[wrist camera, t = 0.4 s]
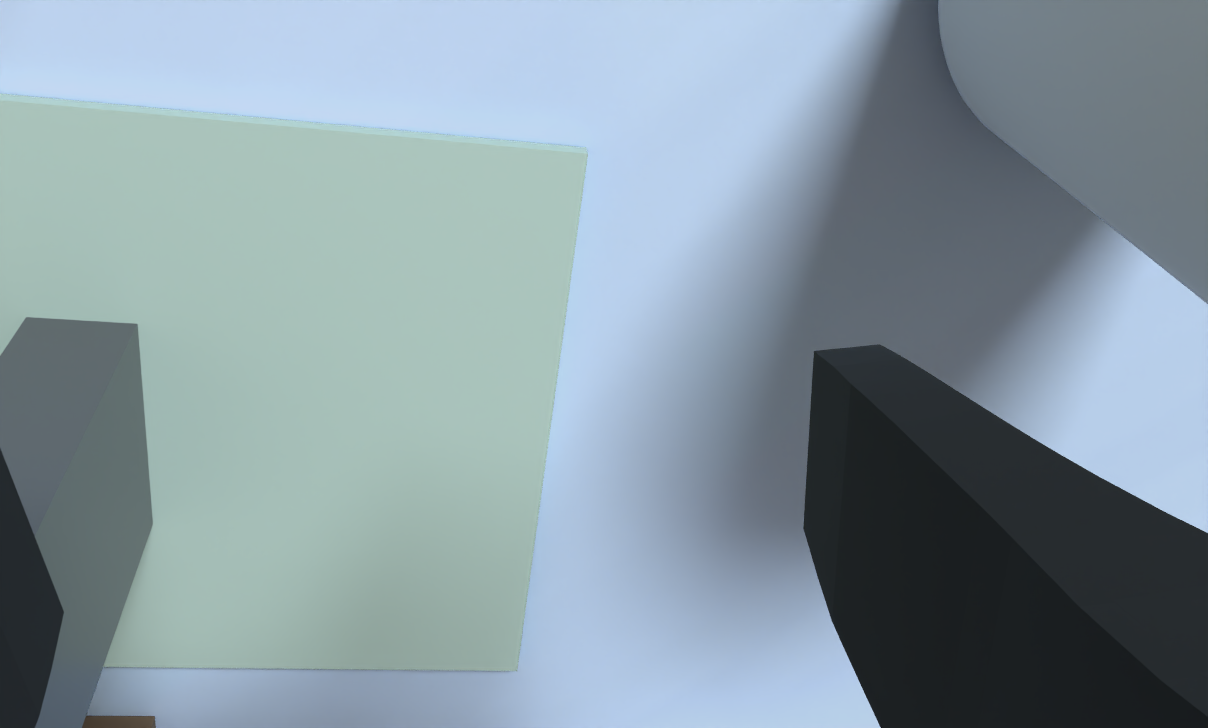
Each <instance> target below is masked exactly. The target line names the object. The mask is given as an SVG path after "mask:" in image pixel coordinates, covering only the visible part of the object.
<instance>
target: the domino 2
mask: <svg viewBox="0 0 1208 728" xmlns="http://www.w3.org/2000/svg"><path fill="white" fill-rule="evenodd" d="M82 728H156V725H155V716H86V717H85V720H84V723H83V726H82Z"/></svg>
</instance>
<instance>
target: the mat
mask: <svg viewBox="0 0 1208 728" xmlns="http://www.w3.org/2000/svg"><path fill="white" fill-rule="evenodd" d="M587 157H588V152H587V149H586V148H585V147H574V146H563V145H552V144H542V143H531V142H520V141H509V140H498V139H487V138H476V137H465V136H455V135H444V134H433V133H422V132H411V131H400V130H389V129H379V128H368V127H357V126H346V125H335V124H324V123H313V122H303V121H292V120H281V119H270V118H259V117H248V116H237V115H227V114H216V113H205V112H194V111H183V110H172V109H161V108H150V107H140V106H129V105H118V104H107V103H96V102H85V101H74V100H64V99H53V98H42V97H31V96H20V95H9V94H0V355H1V354H2V352H3V351H4V349H5V348H6V346H7V345H8V343H9V342H10V340H11V339H12V337H13V336H14V334H15V333H16V331H17V330H18V328H19V327H20V325H21V324H22V322H23V321H24V319H25V318H26V317H34V318H50V319H67V320H83V321H100V322H117V323H133V324H138V335H139V348H140V361H141V374H142V387H143V400H144V413H145V426H146V439H147V452H148V466H149V479H150V492H151V505H152V518H153V526H152V528H151V531H150V534H149V537H148V540H147V543H146V546H145V548H144V551H143V554H142V557H141V560H140V563H139V566H138V568H137V571H136V574H135V577H134V580H133V583H132V586H131V588H130V591H129V594H128V597H127V600H126V603H125V606H124V608H123V611H122V614H121V617H120V620H119V623H118V626H117V629H116V631H115V634H114V637H113V640H112V643H111V646H110V649H109V651H108V654H107V657H106V660H105V663H104V666H103V667H159V668H259V669H360V670H460V671H517V668H518V660H519V653H520V646H521V638H522V631H523V624H524V617H525V609H526V602H527V595H528V587H529V580H530V573H531V565H532V558H533V551H534V544H535V536H536V529H537V522H538V514H539V507H540V500H541V493H542V485H543V478H544V471H545V463H546V456H547V449H548V441H549V434H550V427H551V420H552V412H553V405H554V398H555V390H556V383H557V376H558V369H559V361H560V354H561V347H562V339H563V332H564V325H565V317H566V310H567V303H568V296H569V288H570V281H571V274H572V266H573V259H574V252H575V245H576V237H577V230H578V223H579V215H580V208H581V201H582V193H583V186H584V179H585V172H586V164H587Z"/></svg>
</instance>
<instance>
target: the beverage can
mask: <svg viewBox="0 0 1208 728" xmlns="http://www.w3.org/2000/svg"><path fill="white" fill-rule="evenodd" d="M938 15H939V28H940V37H941V43H942V48H943V52H944V55H945V59H946V62H947V66H948V69H949V72H950V74H951V77H952V79H953V82H954V84H955V85H956V87H957V89H958V91H959V93H960V95H961V97H962V98H963V100H964V102H965V103H966V104H967V106H968V107H969V109H970V110H971V111H972V112H973V113H974V115H975V116H976V117H977V118H978V119H979V121H980V122H981V123H982V124H983V125H984V126H985V127H986V128H988V129H989V130H990V131H991V132H992V133H994V134H995V135H996V136H997V137H999V138H1000V139H1001V140H1002V141H1004V142H1005V143H1006V144H1007V145H1009V146H1010V147H1011V148H1012V149H1014V150H1015V151H1016V152H1017V153H1019V154H1020V155H1021V156H1023V157H1024V158H1025V159H1026V160H1028V161H1029V162H1030V163H1031V164H1033V165H1034V166H1035V167H1036V168H1038V169H1039V170H1040V171H1041V172H1043V173H1044V174H1045V175H1046V176H1048V177H1049V178H1050V179H1051V180H1053V181H1054V182H1055V183H1056V184H1058V185H1059V186H1060V187H1061V188H1063V189H1064V190H1065V191H1066V192H1068V193H1069V194H1070V195H1072V196H1073V197H1074V198H1075V199H1077V200H1078V201H1079V202H1080V203H1082V204H1083V205H1084V206H1085V207H1087V208H1088V209H1089V210H1090V211H1092V212H1093V213H1094V214H1095V215H1097V216H1098V217H1099V218H1100V219H1102V220H1103V221H1104V222H1105V223H1107V224H1108V225H1109V226H1110V227H1112V228H1113V229H1114V230H1115V231H1117V232H1118V233H1119V234H1121V235H1122V236H1123V237H1124V238H1126V239H1127V240H1128V241H1129V242H1131V243H1132V244H1133V245H1134V246H1136V247H1137V248H1138V249H1139V250H1141V251H1142V252H1143V253H1144V254H1146V255H1147V256H1148V257H1149V258H1151V259H1152V260H1153V261H1154V262H1156V263H1157V264H1158V265H1159V266H1161V267H1162V268H1163V269H1164V270H1166V271H1167V272H1168V273H1170V274H1171V275H1172V276H1173V277H1175V278H1176V279H1177V280H1178V281H1180V282H1181V283H1182V284H1183V285H1185V286H1186V287H1187V288H1188V289H1190V290H1191V291H1192V292H1193V293H1195V294H1196V295H1197V296H1198V297H1200V298H1201V299H1202V300H1203V301H1205V302H1206V303H1207V304H1208V0H939V2H938Z"/></svg>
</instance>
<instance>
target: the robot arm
mask: <svg viewBox="0 0 1208 728" xmlns="http://www.w3.org/2000/svg"><path fill="white" fill-rule="evenodd" d="M804 532H805V535H806V538H807V542H808V545H809V548H810V552H811V555H812V559H813V562H814V565H815V569H816V572H817V576H818V579H819V582H820V585H821V588H822V591H823V594H824V598H825V601H826V604H827V607H828V610H829V613H830V616H831V619H832V622H833V624H834V626H835V629H836V631H837V633H838V636H839V638H840V640H841V642H842V645H843V647H844V649H845V651H846V653H847V655H848V658H849V660H850V662H851V664H852V666H853V669H854V671H855V673H856V675H857V677H858V680H859V682H860V684H861V686H862V688H863V690H864V693H865V695H866V697H867V699H868V701H869V703H870V706H871V708H872V710H873V712H874V714H875V716H876V718H877V721H878V723H879V725H880V727H881V728H1208V533H1206V532H1204V531H1202V530H1200V529H1198V528H1196V527H1194V526H1192V525H1190V524H1188V523H1186V522H1184V521H1182V520H1180V519H1178V518H1176V517H1174V516H1172V515H1170V514H1168V513H1166V512H1164V511H1162V510H1160V509H1158V508H1156V507H1154V506H1153V505H1151V504H1149V503H1147V502H1145V501H1143V500H1141V499H1139V498H1138V497H1136V496H1134V495H1132V494H1130V493H1128V492H1126V491H1125V490H1123V489H1121V488H1119V487H1117V486H1115V485H1113V484H1111V483H1110V482H1108V481H1106V480H1104V479H1102V478H1100V477H1098V476H1097V475H1095V474H1093V473H1091V472H1090V471H1088V470H1086V469H1084V468H1083V467H1081V466H1079V465H1077V464H1076V463H1074V462H1072V461H1070V460H1069V459H1067V458H1065V457H1063V456H1062V455H1060V454H1058V453H1057V452H1055V451H1053V450H1052V449H1050V448H1048V447H1046V446H1045V445H1043V444H1041V443H1040V442H1038V441H1036V440H1035V439H1033V438H1031V437H1030V436H1028V435H1027V434H1025V433H1023V432H1022V431H1020V430H1018V429H1017V428H1015V427H1013V426H1012V425H1010V424H1009V423H1007V422H1005V421H1004V420H1002V419H1001V418H999V417H997V416H996V415H994V414H992V413H991V412H989V411H988V410H986V409H984V408H983V407H981V406H980V405H978V404H977V403H975V402H973V401H972V400H970V399H969V398H967V397H966V396H964V395H962V394H961V393H959V392H958V391H956V390H954V389H953V388H951V387H950V386H948V385H947V384H945V383H943V382H942V381H940V380H939V379H937V378H936V377H934V376H932V375H931V374H929V373H928V372H926V371H924V370H923V369H921V368H920V367H918V366H916V365H915V364H913V363H911V362H910V361H908V360H906V359H905V358H903V357H901V356H900V355H898V354H896V353H894V352H893V351H891V350H889V349H887V348H885V347H883V346H881V345H870V346H860V347H850V348H840V349H830V350H820V351H814V360H813V377H812V394H811V411H810V428H809V445H808V461H807V478H806V495H805V512H804ZM63 615H64V610H63V608H62V605H61V603H60V600H59V598H58V595H57V592H56V590H55V587H54V585H53V582H52V580H51V577H50V574H49V572H48V569H47V567H46V564H45V562H44V559H43V556H42V554H41V551H40V549H39V546H38V544H37V541H36V538H35V536H34V533H33V531H32V528H31V526H30V523H29V520H28V518H27V515H26V513H25V510H24V508H23V505H22V502H21V500H20V497H19V495H18V492H17V490H16V487H15V484H14V482H13V479H12V477H11V474H10V472H9V469H8V466H7V464H6V461H5V459H4V456H3V454H2V451H1V448H0V728H35V726H36V724H37V721H38V718H39V716H40V712H41V708H42V704H43V700H44V696H45V693H46V689H47V685H48V681H49V677H50V673H51V669H52V665H53V660H54V656H55V651H56V647H57V642H58V638H59V633H60V628H61V624H62V619H63Z"/></svg>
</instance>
